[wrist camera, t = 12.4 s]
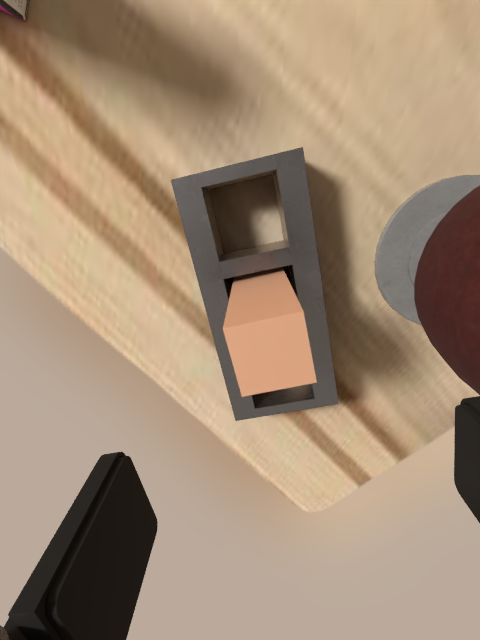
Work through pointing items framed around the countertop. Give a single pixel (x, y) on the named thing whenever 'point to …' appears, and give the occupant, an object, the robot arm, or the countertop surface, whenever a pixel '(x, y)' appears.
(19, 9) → the candy bar box
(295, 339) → the square peg
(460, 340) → the mate gourd
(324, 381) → the rail
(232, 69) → the countertop surface
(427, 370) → the countertop surface
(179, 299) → the countertop surface
